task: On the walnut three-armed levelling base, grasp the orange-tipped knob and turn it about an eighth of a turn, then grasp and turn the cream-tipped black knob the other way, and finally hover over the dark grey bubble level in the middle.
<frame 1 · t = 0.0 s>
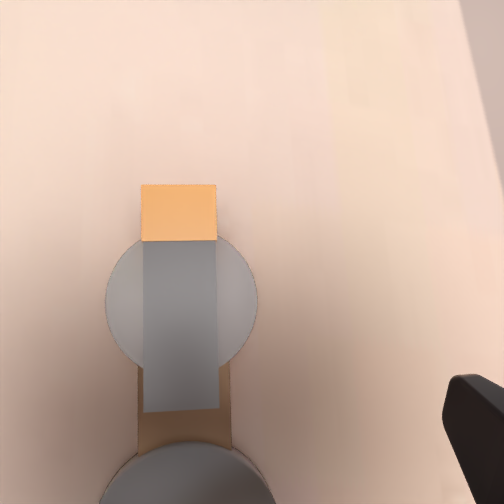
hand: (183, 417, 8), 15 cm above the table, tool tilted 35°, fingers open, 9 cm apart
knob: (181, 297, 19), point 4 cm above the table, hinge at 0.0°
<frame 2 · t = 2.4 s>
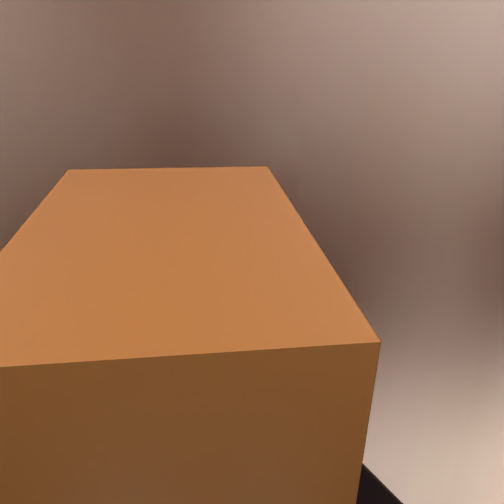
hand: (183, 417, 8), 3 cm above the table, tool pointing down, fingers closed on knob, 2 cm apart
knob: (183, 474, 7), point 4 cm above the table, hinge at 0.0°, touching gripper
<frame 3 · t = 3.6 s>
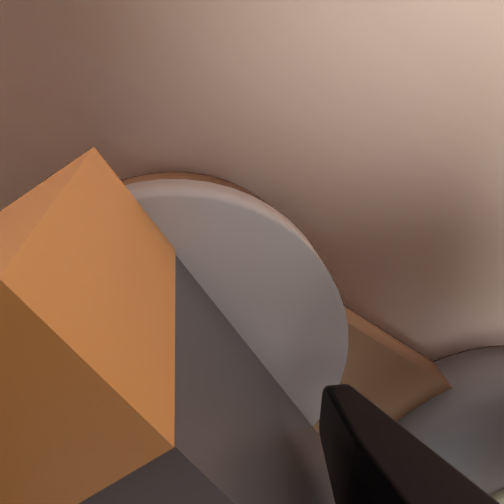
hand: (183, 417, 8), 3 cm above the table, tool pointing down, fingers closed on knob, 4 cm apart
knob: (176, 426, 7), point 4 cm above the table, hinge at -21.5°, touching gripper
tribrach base: (463, 458, 14), on the table
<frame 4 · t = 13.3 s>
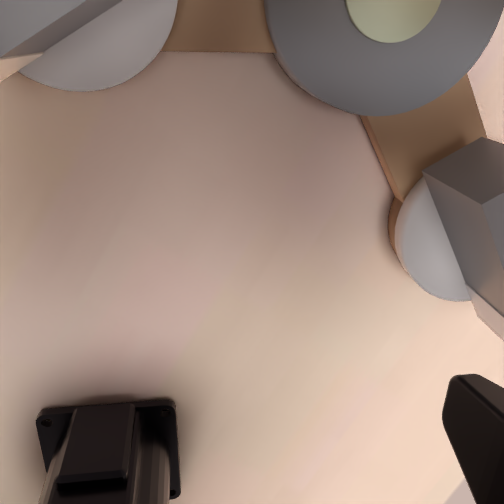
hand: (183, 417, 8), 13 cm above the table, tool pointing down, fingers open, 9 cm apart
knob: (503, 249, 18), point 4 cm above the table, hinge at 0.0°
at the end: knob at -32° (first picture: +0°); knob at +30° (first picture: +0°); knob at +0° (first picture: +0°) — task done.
